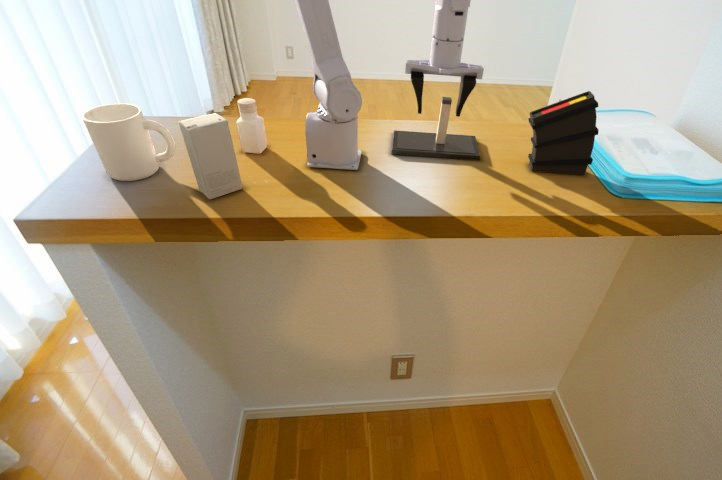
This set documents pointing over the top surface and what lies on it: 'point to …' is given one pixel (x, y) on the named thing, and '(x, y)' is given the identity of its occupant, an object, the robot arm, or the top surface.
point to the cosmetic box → (211, 154)
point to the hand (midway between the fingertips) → (438, 113)
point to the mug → (126, 141)
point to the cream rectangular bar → (443, 120)
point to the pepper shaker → (251, 127)
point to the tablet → (435, 145)
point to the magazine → (564, 135)
